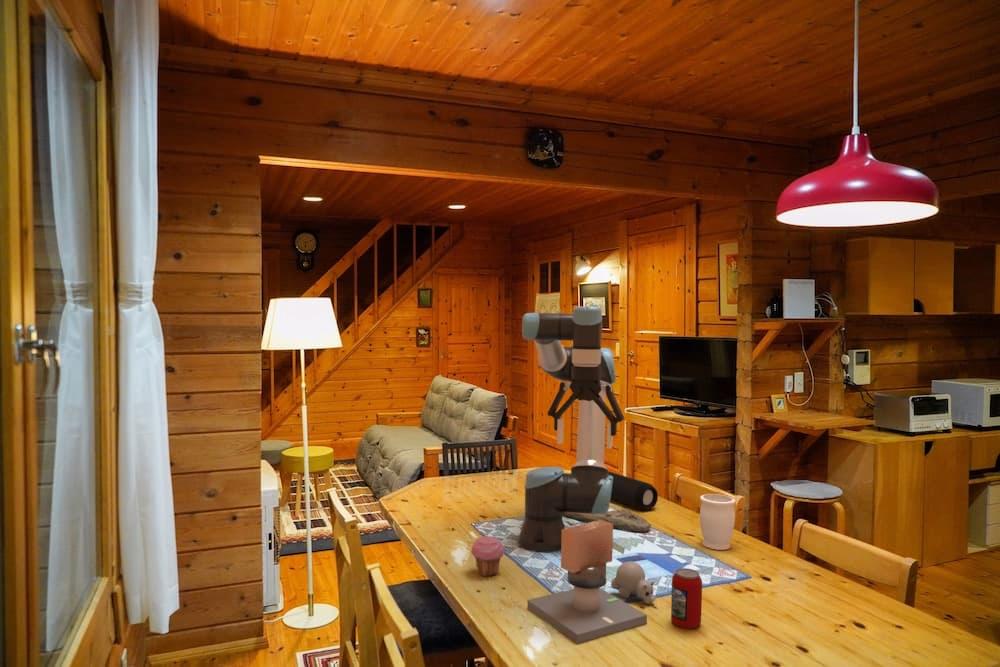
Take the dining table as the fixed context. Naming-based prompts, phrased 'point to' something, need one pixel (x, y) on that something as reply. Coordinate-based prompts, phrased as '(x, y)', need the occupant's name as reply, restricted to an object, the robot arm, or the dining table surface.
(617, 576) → the chubby cartoon animal
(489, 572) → the cupcake
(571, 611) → the coupling base
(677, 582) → the beverage can
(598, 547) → the coupling
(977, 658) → the dining table surface
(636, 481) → the portable speaker
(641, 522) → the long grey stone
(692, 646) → the dining table surface
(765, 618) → the dining table surface
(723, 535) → the jar
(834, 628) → the dining table surface
